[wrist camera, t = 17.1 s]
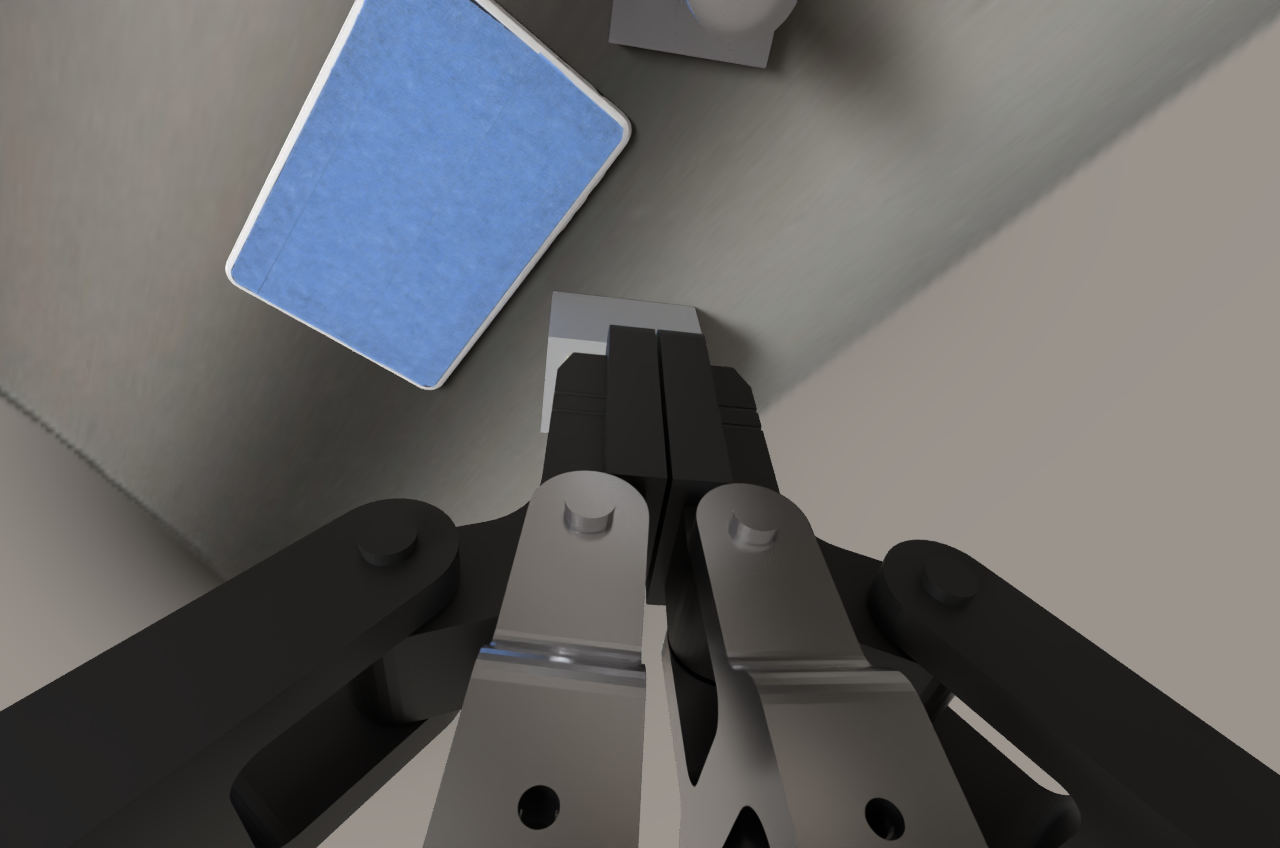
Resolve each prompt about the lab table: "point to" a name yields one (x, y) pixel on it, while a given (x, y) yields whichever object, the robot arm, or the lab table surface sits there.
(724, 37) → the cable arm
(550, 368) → the block
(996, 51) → the lab table surface
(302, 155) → the tablet computer
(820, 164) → the lab table surface
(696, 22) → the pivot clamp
